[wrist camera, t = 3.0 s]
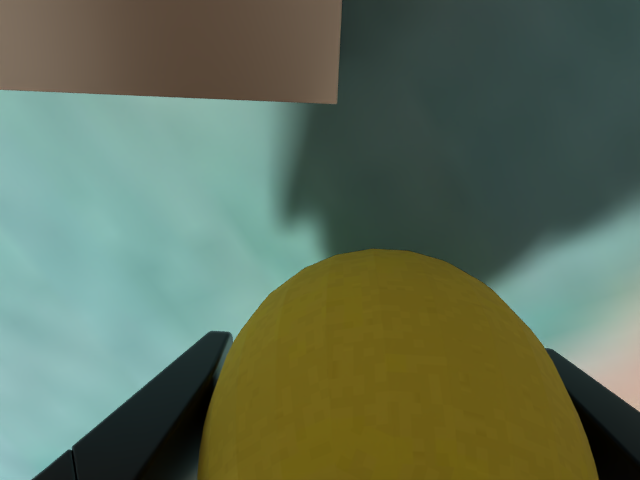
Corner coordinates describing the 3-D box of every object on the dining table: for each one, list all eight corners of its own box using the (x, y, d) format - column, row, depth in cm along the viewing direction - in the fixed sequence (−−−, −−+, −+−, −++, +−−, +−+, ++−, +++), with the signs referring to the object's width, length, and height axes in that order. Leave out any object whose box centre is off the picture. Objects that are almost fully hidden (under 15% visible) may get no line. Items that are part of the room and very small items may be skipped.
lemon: (219, 210, 10) (-59, 708, 3) (487, 160, 9) (921, 661, 2) (283, 400, 13) (210, 923, 6) (500, 371, 12) (735, 933, 5)
